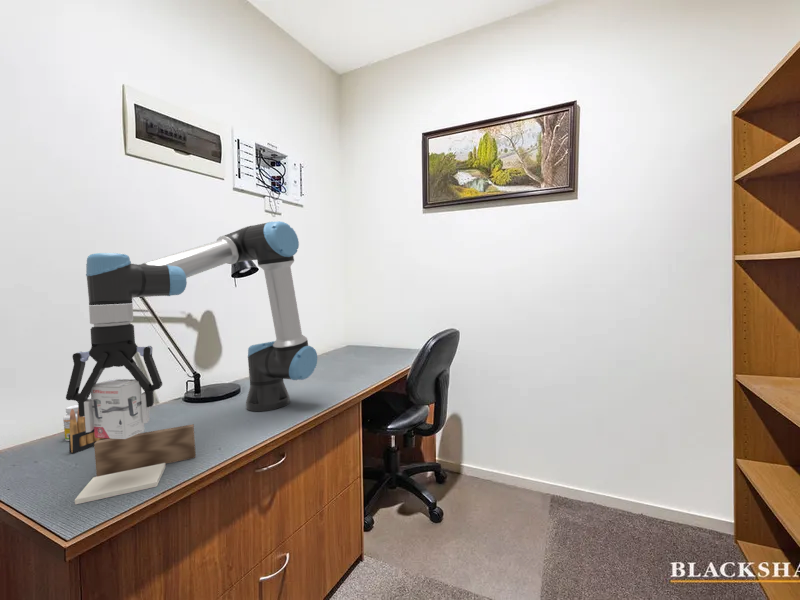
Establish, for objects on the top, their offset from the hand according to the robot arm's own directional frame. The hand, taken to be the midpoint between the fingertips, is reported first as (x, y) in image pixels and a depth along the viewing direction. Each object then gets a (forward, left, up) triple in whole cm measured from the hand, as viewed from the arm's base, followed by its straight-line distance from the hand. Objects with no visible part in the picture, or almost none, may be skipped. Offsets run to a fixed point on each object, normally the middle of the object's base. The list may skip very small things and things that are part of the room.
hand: (119, 425), depth 80 cm
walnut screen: (-3, -8, -13) cm, 16 cm away
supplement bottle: (+22, -42, -13) cm, 49 cm away
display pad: (0, 0, -13) cm, 13 cm away
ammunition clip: (+15, -32, -13) cm, 38 cm away
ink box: (0, 0, -2) cm, 2 cm away
